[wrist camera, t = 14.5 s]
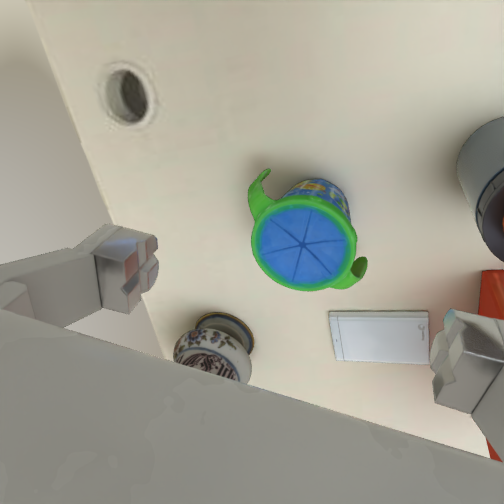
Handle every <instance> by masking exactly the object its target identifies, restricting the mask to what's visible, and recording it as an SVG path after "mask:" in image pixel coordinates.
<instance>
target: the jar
mask: <svg viewBox="0 0 504 504" xmlns="http://www.w3.org/2000/svg"><path fill="white" fill-rule="evenodd" d="M456 169H457V176H458V179H459V182H460V184H461V187H462V189H463V192H464V194H465V197H466V199H467V202H468V204H469V207H470V209H471V212H472V214H473V217H474V219H475V222H476V224H477V227H478V229H479V231H480V233H481V230H480V228H479V224H478V217H477V214H478V211H477V208H478V206H479V202H480V200H481V197H482V195H483V193H484V192H485V190H486V188H487V187H488V186H489V184H490V182H492V181H493V180H494V179H495V178H496V177H497V176H498V175H499V174H500V173H502V172H503V171H504V117H501V118H498V119H495V120H493V121H491V122H489V123H487V124H485V125H483V126H482V127H480V128H479V129H478V130H476V131H475V132H474V133H473V134H472V135H471V136H470V137H469V138H468V140H467V141H466V142H465V144H464V145H463V147H462V149H461V151H460V153H459V156H458V160H457V168H456Z"/></svg>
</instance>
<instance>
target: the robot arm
mask: <svg viewBox="0 0 504 504" xmlns="http://www.w3.org/2000/svg"><path fill="white" fill-rule="evenodd" d="M157 249H158V243H157V238H156V237H155V236H154V235H151V234H147V233H144V232H140V231H136V230H133V229H129V228H125V227H121V226H117V225H113V224H105V225H103V226H102V227H101V228H99V229H98V230H97V231H96V232H94V233H93V234H91V235H90V236H89V237H87V238H86V239H85V240H84V241H82V242H81V243H80V244H78V245H77V246H76V247H74V248H73V249H70V248H65V249H61V250H57V251H53V252H49V253H45V254H41V255H37V256H33V257H29V258H25V259H21V260H17V261H13V262H9V263H5V264H1V265H0V504H504V320H501V319H496V318H489V317H485V316H481V315H476V314H472V313H468V312H464V311H459V310H455V309H450V310H449V311H448V312H447V314H446V315H445V317H444V319H443V323H444V330H442V331H440V332H438V333H437V334H436V336H435V338H434V341H433V343H432V347H431V352H430V367H431V369H432V370H433V371H434V373H435V374H436V375H435V377H434V379H433V381H432V384H433V392H434V400H435V403H437V404H440V405H443V406H446V407H449V408H452V409H456V410H459V411H462V412H465V413H468V414H471V417H472V418H473V420H474V421H475V423H476V424H477V426H478V427H479V428H480V430H481V431H482V433H483V434H484V436H485V437H486V438H487V440H488V441H489V443H490V444H491V446H492V447H493V448H494V450H495V451H496V453H497V454H498V456H499V457H500V459H501V460H502V461H503V462H500V461H497V460H493V459H490V458H487V457H484V456H480V455H477V454H474V453H470V452H467V451H464V450H460V449H457V448H454V447H450V446H447V445H444V444H441V443H437V442H434V441H431V440H428V439H424V438H421V437H418V436H415V435H411V434H408V433H405V432H402V431H398V430H395V429H392V428H388V427H385V426H382V425H379V424H375V423H372V422H369V421H366V420H362V419H359V418H356V417H353V416H349V415H346V414H343V413H340V412H336V411H333V410H330V409H327V408H323V407H320V406H317V405H314V404H310V403H307V402H304V401H301V400H297V399H294V398H291V397H288V396H284V395H281V394H278V393H274V392H271V391H268V390H265V389H261V388H258V387H255V386H251V385H248V384H245V383H242V382H238V381H235V380H232V379H228V378H225V377H222V376H219V375H215V374H212V373H209V372H205V371H202V370H199V369H196V368H192V367H189V366H186V365H182V364H179V363H176V362H173V361H169V360H166V359H163V358H160V357H156V356H153V355H150V354H147V353H143V352H140V351H137V350H133V349H130V348H127V347H123V346H120V345H117V344H114V343H111V342H107V341H104V340H100V339H98V338H94V337H91V336H88V335H84V334H81V333H78V332H75V331H72V330H68V329H65V328H64V327H66V326H68V325H70V324H72V323H74V322H76V321H78V320H80V319H82V318H84V317H86V316H88V315H90V314H92V313H94V312H96V311H98V310H101V309H102V308H106V309H109V310H113V311H117V312H121V313H125V314H130V313H131V311H132V310H133V309H134V308H135V306H136V305H137V304H138V303H139V302H140V301H141V294H142V293H144V292H147V291H149V290H150V289H151V287H152V286H153V285H154V283H155V280H156V278H157V276H158V269H159V262H158V260H157V258H156V257H155V255H154V254H153V253H154V252H155V251H156V250H157Z"/></svg>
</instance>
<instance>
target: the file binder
mask: <svg viewBox="0 0 504 504" xmlns="http://www.w3.org/2000/svg"><path fill="white" fill-rule="evenodd" d="M478 315H481V316H485V317H489V318H496V319H501V320H504V270H487V271H482V280H481V290H480V300H479V310H478ZM486 441H487V445H488V449H489V454H490V458H491V459H493V460H497V461H500V462H503V461H502V460H501V459H500V457H499V456H498V454H497V453H496V451H495V450H494V448H493V447H492V446H491V444H490V443H489V441H488V440H487V438H486Z"/></svg>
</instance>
